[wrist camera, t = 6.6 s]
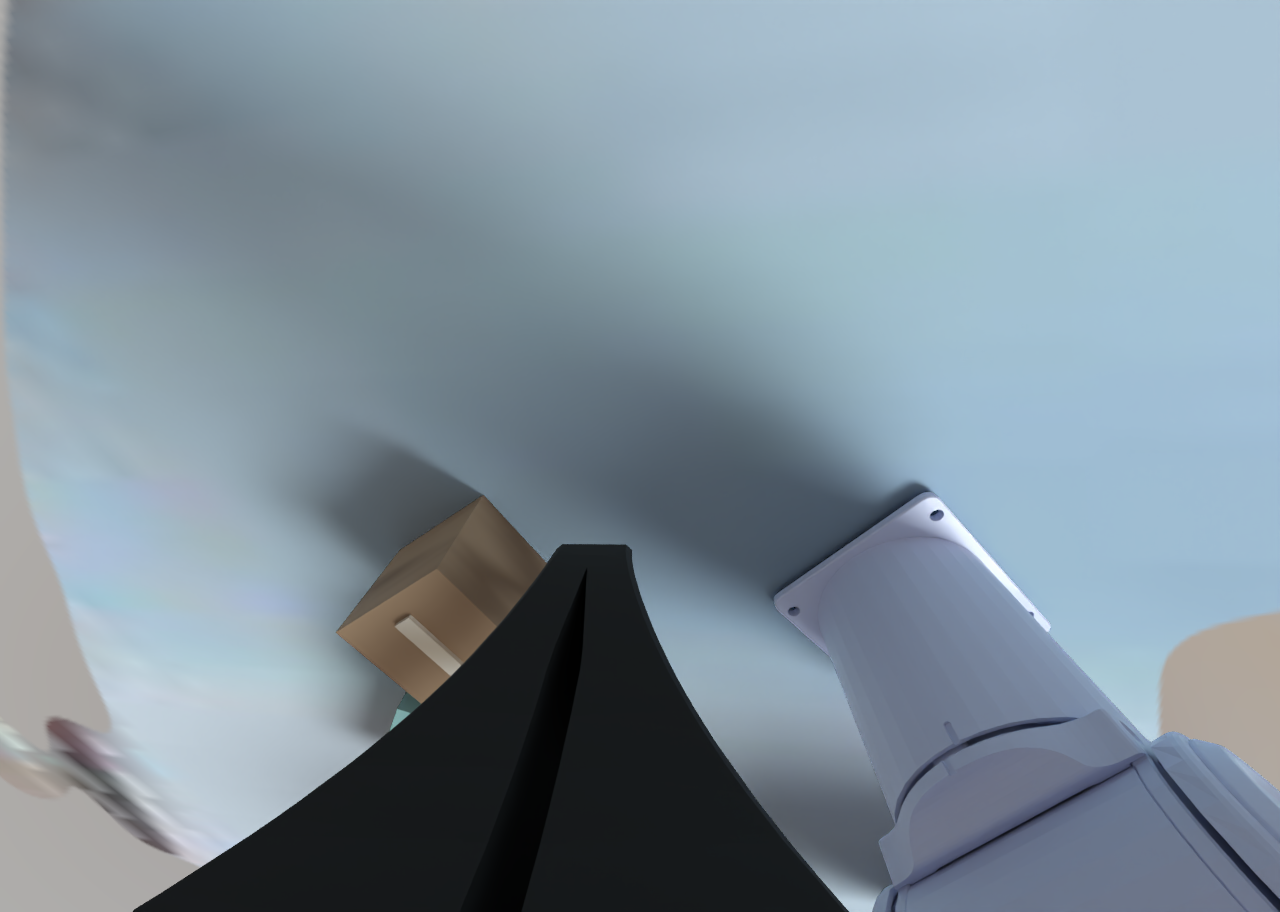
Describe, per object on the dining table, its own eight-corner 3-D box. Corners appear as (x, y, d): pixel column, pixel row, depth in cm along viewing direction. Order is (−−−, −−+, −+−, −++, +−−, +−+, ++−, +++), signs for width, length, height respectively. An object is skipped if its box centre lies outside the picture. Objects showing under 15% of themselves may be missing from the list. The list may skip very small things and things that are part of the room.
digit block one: (559, 575, 23) (534, 667, 18) (477, 622, 24) (433, 719, 20) (484, 493, 21) (435, 571, 17) (400, 549, 23) (333, 636, 18)
